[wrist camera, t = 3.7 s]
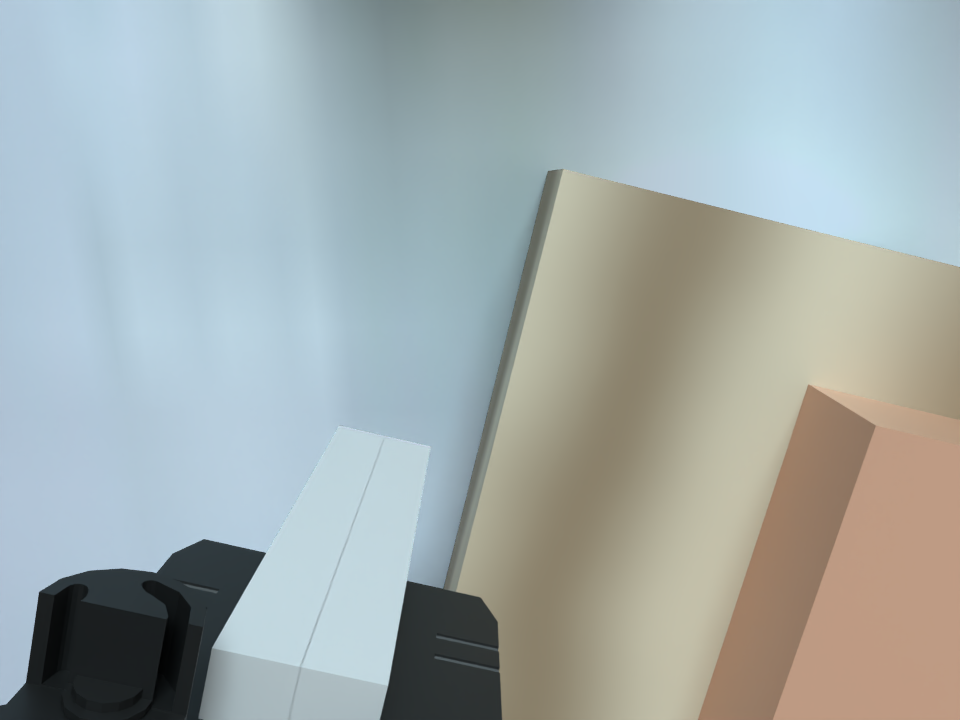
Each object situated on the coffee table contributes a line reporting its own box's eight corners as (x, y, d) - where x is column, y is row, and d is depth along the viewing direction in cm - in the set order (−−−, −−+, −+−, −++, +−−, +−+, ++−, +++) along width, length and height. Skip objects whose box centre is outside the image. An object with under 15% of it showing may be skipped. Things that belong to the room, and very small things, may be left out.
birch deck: (415, 700, 19) (404, 795, 16) (548, 171, 17) (563, 169, 14) (1077, 840, 20) (1182, 954, 17) (1295, 356, 17) (1460, 391, 15)
